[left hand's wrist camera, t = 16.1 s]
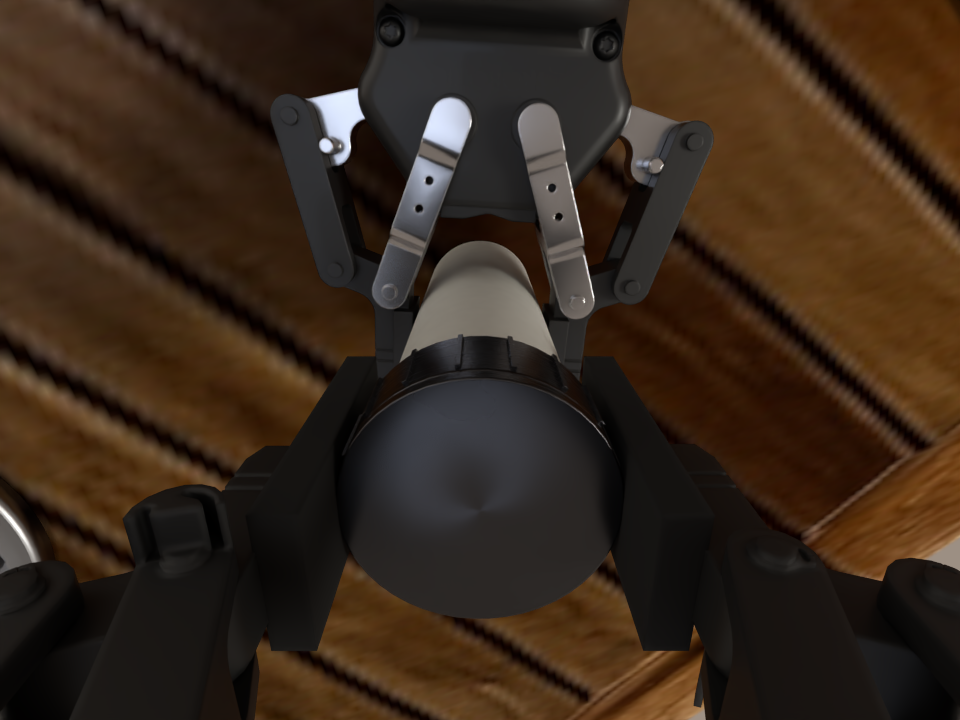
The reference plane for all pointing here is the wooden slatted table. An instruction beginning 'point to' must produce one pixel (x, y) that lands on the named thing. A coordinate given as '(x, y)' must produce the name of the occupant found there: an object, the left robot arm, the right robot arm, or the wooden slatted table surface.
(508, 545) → the lid
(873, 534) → the wooden slatted table surface
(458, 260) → the jar
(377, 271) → the right robot arm
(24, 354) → the wooden slatted table surface
